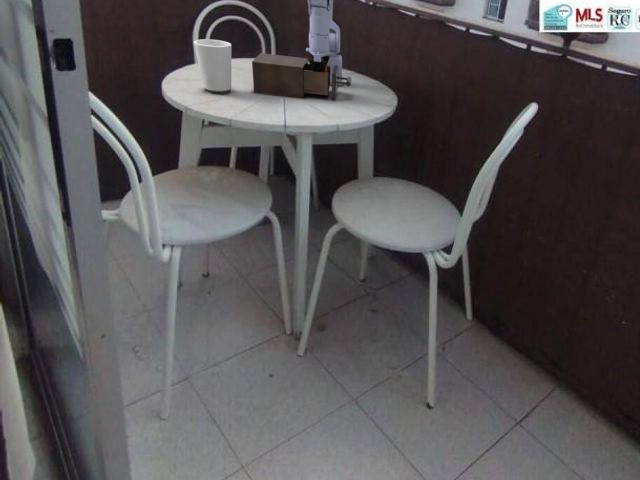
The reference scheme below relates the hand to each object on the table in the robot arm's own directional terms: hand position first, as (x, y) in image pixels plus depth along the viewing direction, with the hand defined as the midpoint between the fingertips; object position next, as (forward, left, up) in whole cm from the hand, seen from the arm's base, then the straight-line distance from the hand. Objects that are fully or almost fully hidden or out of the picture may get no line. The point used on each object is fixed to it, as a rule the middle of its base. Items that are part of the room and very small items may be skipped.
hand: (319, 82), depth 158 cm
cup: (+30, +4, -4) cm, 30 cm away
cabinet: (+11, -2, -3) cm, 12 cm away
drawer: (-1, 0, -3) cm, 3 cm away
